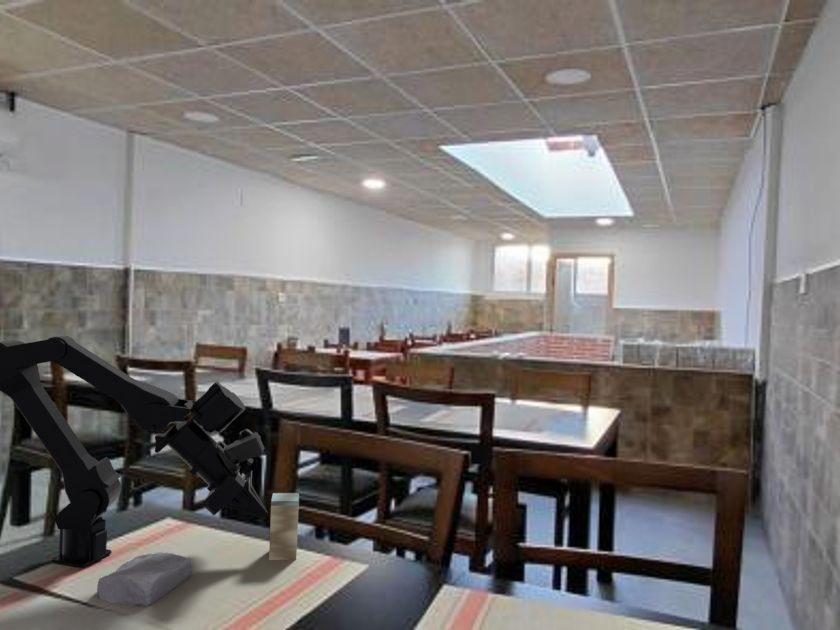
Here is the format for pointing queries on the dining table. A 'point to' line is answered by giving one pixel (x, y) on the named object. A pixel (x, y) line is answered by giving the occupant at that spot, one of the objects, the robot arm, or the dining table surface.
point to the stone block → (144, 579)
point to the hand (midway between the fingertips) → (265, 515)
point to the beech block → (284, 526)
